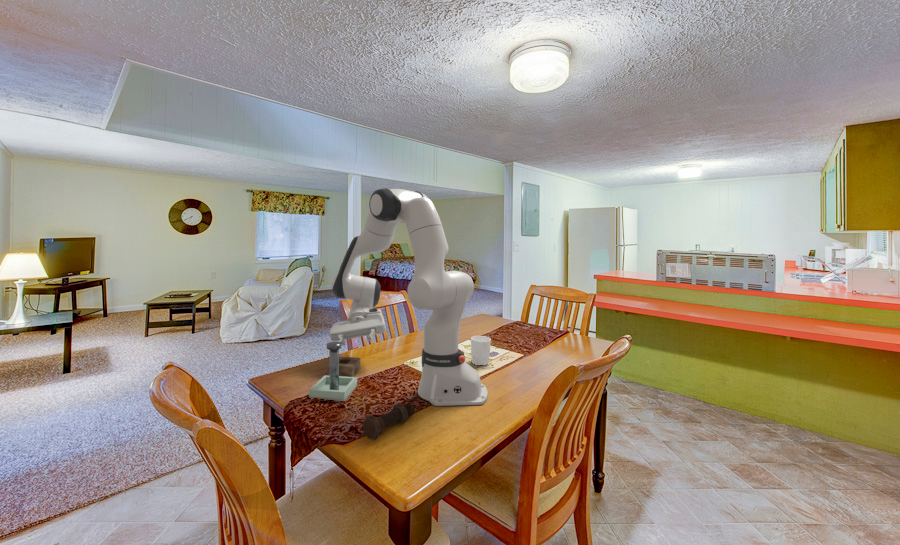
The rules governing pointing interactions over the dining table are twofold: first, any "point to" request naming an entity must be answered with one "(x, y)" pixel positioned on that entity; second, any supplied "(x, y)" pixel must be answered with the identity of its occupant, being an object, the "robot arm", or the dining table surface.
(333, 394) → the tray
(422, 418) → the dining table surface
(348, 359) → the socket block
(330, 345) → the pin
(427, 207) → the robot arm
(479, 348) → the white cup
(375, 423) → the bolt
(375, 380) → the dining table surface
